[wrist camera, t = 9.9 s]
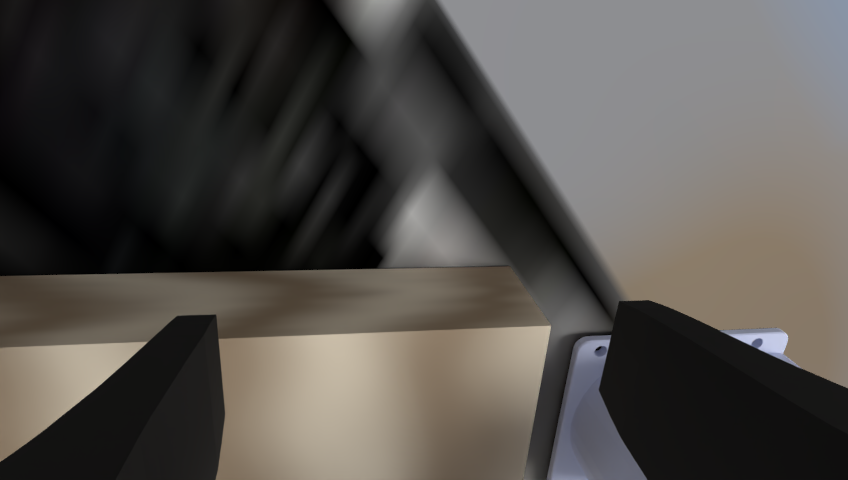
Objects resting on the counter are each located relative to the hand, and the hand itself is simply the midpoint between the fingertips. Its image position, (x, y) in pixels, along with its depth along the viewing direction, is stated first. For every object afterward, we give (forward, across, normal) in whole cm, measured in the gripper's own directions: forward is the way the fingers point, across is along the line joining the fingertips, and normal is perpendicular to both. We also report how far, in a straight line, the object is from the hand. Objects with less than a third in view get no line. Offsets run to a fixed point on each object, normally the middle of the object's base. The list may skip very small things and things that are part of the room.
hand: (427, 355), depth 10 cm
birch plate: (+9, +4, +11) cm, 15 cm away
